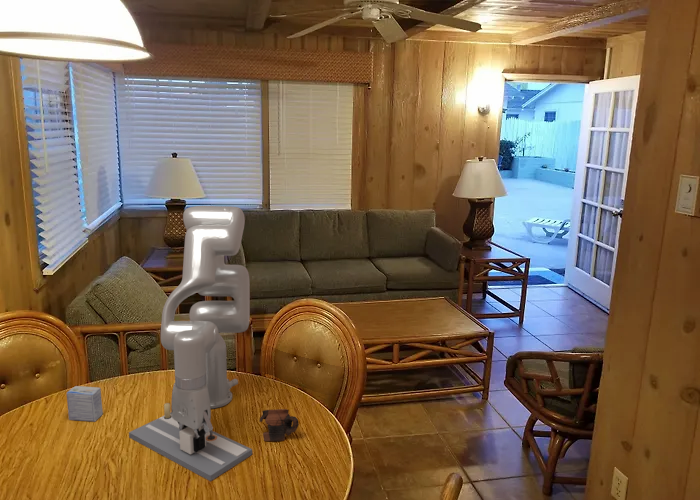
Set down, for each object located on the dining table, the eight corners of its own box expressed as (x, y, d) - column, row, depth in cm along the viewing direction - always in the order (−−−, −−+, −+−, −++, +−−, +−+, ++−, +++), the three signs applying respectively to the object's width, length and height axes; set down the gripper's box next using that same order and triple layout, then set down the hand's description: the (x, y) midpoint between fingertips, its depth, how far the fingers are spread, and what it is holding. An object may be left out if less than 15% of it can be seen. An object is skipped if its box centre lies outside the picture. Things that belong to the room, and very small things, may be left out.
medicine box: (103, 414, 161) (101, 387, 159) (94, 422, 157) (92, 394, 155) (77, 412, 162) (75, 385, 160) (68, 420, 157) (65, 392, 156)
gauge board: (172, 416, 161) (171, 398, 160) (252, 454, 143) (252, 434, 142) (129, 437, 150) (127, 417, 148) (210, 481, 132) (209, 459, 131)
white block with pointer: (207, 434, 148) (206, 417, 147) (217, 439, 146) (216, 421, 145) (180, 449, 141) (179, 431, 140) (190, 454, 139) (189, 436, 138)
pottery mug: (252, 442, 150) (252, 410, 153) (270, 441, 158) (270, 411, 161) (292, 440, 146) (291, 407, 148) (308, 439, 154) (307, 408, 157)
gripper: (156, 376, 140) (160, 441, 144) (201, 395, 131) (204, 464, 135) (181, 366, 146) (183, 429, 150) (225, 383, 137) (227, 450, 141)
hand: (193, 445), depth 142 cm, fingers closed on white block with pointer, 4 cm apart
